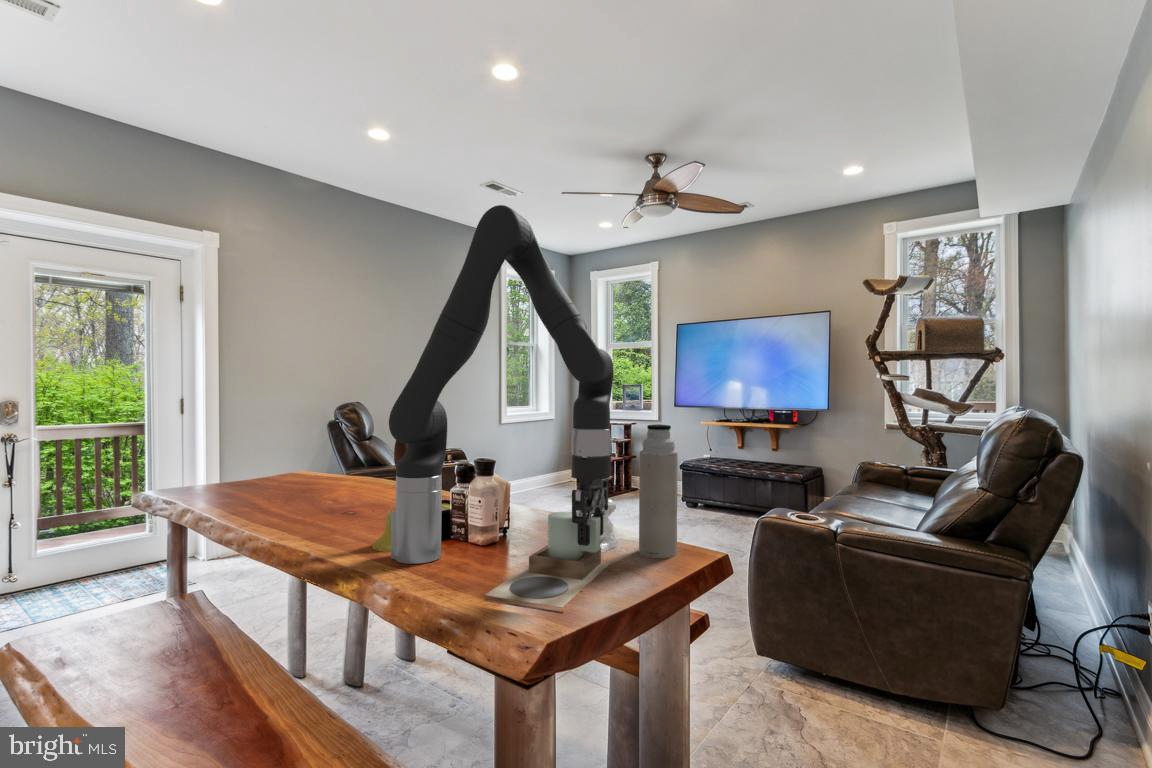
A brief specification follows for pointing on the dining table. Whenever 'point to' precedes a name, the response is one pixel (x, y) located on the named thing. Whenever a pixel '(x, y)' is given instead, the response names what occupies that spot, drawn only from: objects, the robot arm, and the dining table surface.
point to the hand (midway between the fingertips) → (590, 539)
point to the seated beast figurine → (608, 530)
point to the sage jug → (570, 537)
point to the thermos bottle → (658, 494)
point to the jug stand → (549, 580)
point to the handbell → (385, 539)
